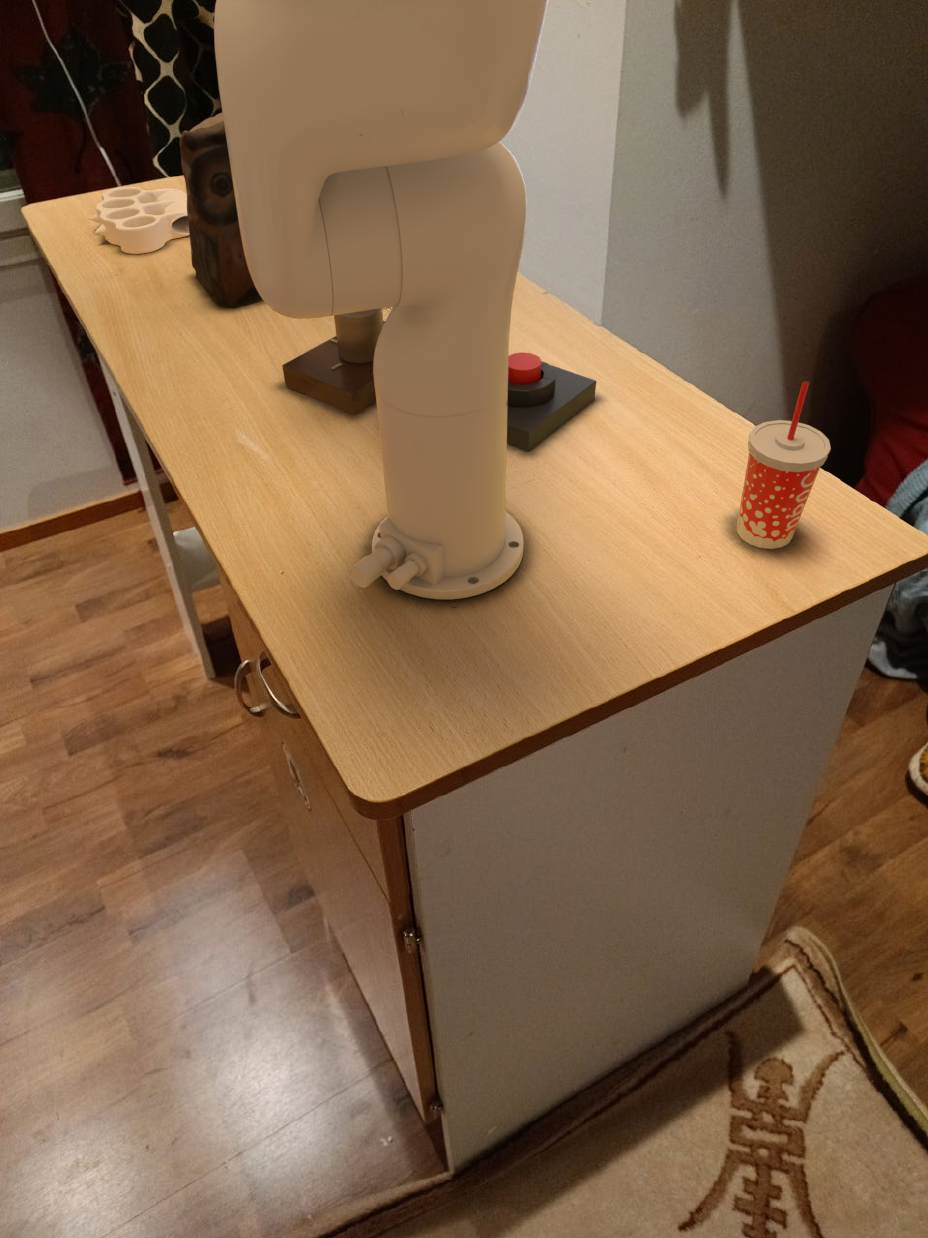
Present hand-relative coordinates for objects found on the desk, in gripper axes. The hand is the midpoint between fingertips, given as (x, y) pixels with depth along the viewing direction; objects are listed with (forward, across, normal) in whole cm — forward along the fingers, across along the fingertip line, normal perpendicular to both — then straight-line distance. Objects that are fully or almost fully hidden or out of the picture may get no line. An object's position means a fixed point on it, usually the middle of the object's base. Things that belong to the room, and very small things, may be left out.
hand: (349, 239), depth 85 cm
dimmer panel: (+14, 0, 0) cm, 14 cm away
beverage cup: (+14, 0, -46) cm, 48 cm away
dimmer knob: (+12, 0, 0) cm, 12 cm away
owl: (+15, +8, +29) cm, 33 cm away
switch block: (+14, +4, -18) cm, 23 cm away
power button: (+10, +4, -18) cm, 21 cm away
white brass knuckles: (+15, +12, +54) cm, 57 cm away
